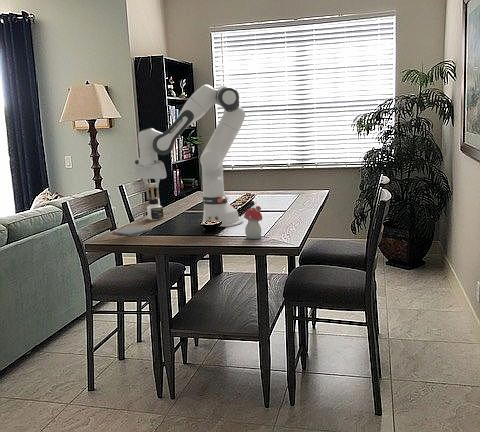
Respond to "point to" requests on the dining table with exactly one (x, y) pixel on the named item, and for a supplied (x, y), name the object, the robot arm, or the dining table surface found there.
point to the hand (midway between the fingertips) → (152, 187)
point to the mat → (132, 231)
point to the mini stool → (151, 185)
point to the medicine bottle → (155, 209)
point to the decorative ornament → (253, 223)
